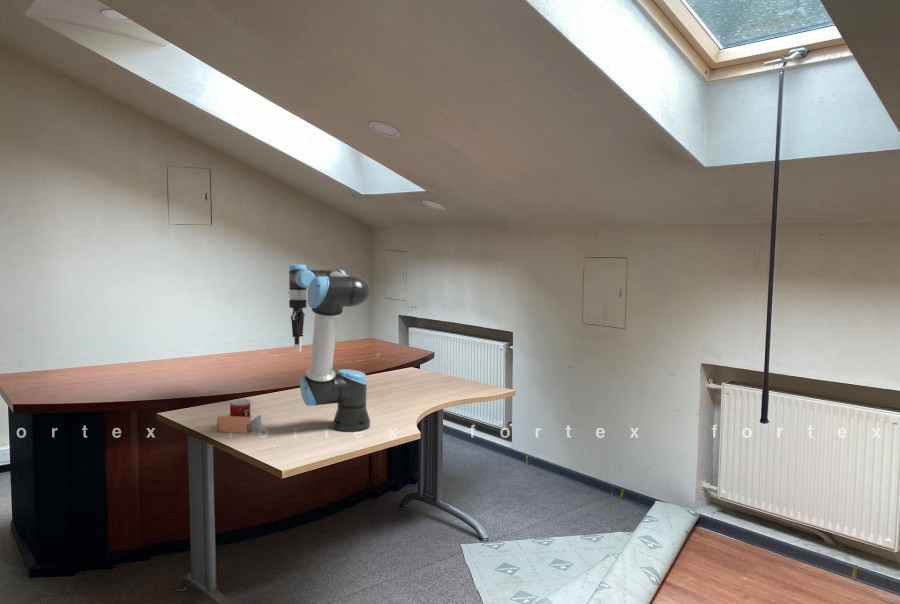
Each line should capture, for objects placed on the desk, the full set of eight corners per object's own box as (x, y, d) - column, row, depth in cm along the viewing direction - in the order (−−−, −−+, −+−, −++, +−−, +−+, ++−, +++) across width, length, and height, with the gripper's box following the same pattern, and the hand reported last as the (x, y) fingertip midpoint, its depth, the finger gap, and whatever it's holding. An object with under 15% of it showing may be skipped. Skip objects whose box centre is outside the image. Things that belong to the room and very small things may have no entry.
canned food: (237, 432, 243) (237, 405, 242) (226, 428, 247) (225, 401, 246) (254, 428, 249) (254, 401, 248) (242, 424, 254) (242, 398, 252)
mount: (261, 423, 255) (260, 409, 254) (249, 432, 242) (249, 418, 242) (230, 422, 255) (230, 408, 255) (217, 431, 243) (216, 416, 242)
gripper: (294, 297, 282) (294, 348, 284) (284, 299, 269) (284, 353, 271) (310, 298, 282) (310, 349, 284) (301, 300, 269) (301, 353, 271)
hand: (297, 351), depth 278 cm, fingers closed
